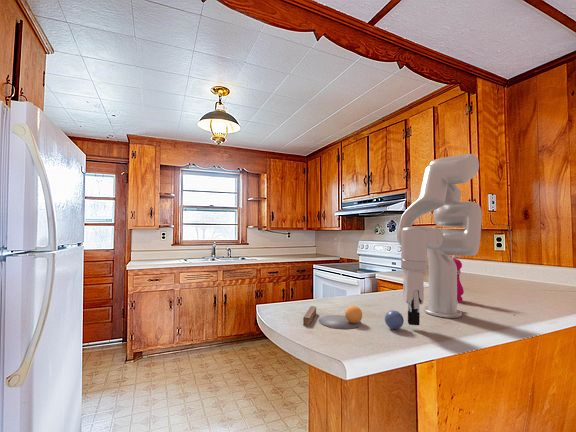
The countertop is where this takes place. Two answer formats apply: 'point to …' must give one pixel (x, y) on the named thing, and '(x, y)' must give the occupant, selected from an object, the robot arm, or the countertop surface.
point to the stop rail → (309, 316)
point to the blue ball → (394, 319)
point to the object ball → (353, 314)
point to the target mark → (337, 322)
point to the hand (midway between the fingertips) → (413, 324)
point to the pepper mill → (458, 279)
